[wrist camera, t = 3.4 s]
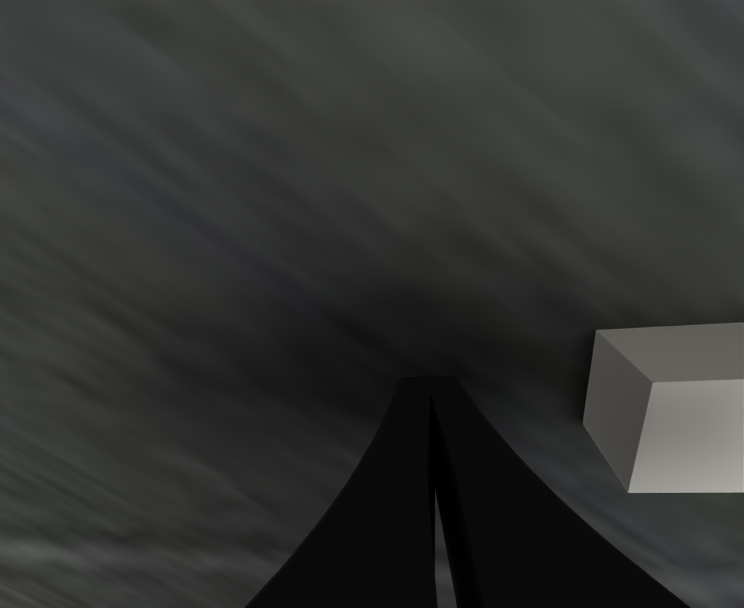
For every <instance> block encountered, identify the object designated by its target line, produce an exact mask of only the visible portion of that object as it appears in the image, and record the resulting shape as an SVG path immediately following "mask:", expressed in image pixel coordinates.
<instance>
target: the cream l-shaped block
mask: <svg viewBox="0 0 744 608" xmlns="http://www.w3.org/2000/svg"><path fill="white" fill-rule="evenodd" d="M583 425H584V427H585V428H586V430H587V431H588V433H589V434H590V436H591V438H592V439H593V441H594V442H595V444H596V445H597V447H598V448H599V450H600V451H601V453H602V454H603V456H604V457H605V459H606V460H607V462H608V463H609V465H610V466H611V468H612V469H613V471H614V472H615V474H616V475H617V477H618V478H619V480H620V482H621V483H622V485H623V486H624V488H625V489H626V491H627V492H628V493H701V492H744V322H740V323H721V324H702V325H682V326H663V327H644V328H625V329H606V330H596V334H595V341H594V348H593V355H592V362H591V369H590V375H589V382H588V389H587V396H586V403H585V410H584V417H583Z"/></svg>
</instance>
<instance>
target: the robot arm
mask: <svg viewBox="0 0 744 608" xmlns="http://www.w3.org/2000/svg"><path fill="white" fill-rule="evenodd" d="M435 490H436V495H437V501H438V506H439V512H440V517H441V522H442V528H443V533H444V538H445V544H446V549H447V554H448V560H449V565H450V570H451V576H452V581H453V586H454V592H455V597H456V604H457V608H690V607H689V606H688V605H687V604H685V603H684V602H683V601H681V600H680V599H679V598H678V597H676V596H675V595H674V594H673V593H671V592H670V591H669V590H668V589H666V588H665V587H664V586H663V585H661V584H660V583H659V582H658V581H656V580H655V579H654V578H653V577H651V576H650V575H649V574H648V573H646V572H645V571H644V570H643V569H641V568H640V567H639V566H638V565H636V564H635V563H634V562H633V561H631V560H630V559H629V558H628V557H626V556H625V555H624V554H622V553H621V552H620V551H619V550H617V549H616V548H615V547H614V546H613V545H612V544H610V543H609V542H608V541H607V540H606V539H605V538H604V537H602V536H601V535H600V534H599V533H598V532H597V531H596V530H594V529H593V528H592V527H591V526H590V525H589V524H588V523H586V522H585V521H584V520H583V519H582V518H581V517H580V516H579V515H577V514H576V513H575V512H574V511H573V510H572V509H571V508H570V507H569V506H568V505H567V504H566V503H565V502H563V501H562V500H561V499H560V498H559V497H558V496H557V495H556V494H555V493H554V492H553V491H552V490H551V489H550V488H549V487H548V486H547V485H546V484H545V483H544V482H543V481H542V480H541V479H540V478H539V477H538V476H537V475H536V474H535V473H534V472H533V471H532V470H531V469H530V468H529V467H528V466H527V465H526V464H525V462H524V461H523V460H522V459H521V458H520V457H519V456H518V455H517V454H516V453H515V452H514V451H513V449H512V448H511V447H510V446H509V445H508V444H507V443H506V442H505V440H504V439H503V438H502V437H501V436H500V434H499V433H498V432H497V431H496V430H495V428H494V427H493V426H492V425H491V424H490V422H489V421H488V420H487V419H486V417H485V416H484V415H483V414H482V412H481V411H480V410H479V408H478V407H477V406H476V404H475V403H474V402H473V400H472V399H471V397H470V396H469V395H468V393H467V392H466V390H465V389H464V387H463V385H462V384H461V382H460V380H459V379H458V378H457V377H455V376H430V377H407V378H401V379H400V380H399V381H398V382H397V386H396V390H395V393H394V396H393V398H392V401H391V403H390V406H389V408H388V410H387V412H386V415H385V417H384V419H383V421H382V423H381V425H380V427H379V429H378V431H377V433H376V435H375V437H374V439H373V441H372V442H371V444H370V446H369V448H368V449H367V451H366V453H365V454H364V456H363V458H362V459H361V461H360V463H359V464H358V466H357V468H356V469H355V471H354V473H353V474H352V476H351V477H350V479H349V480H348V482H347V483H346V485H345V486H344V488H343V489H342V491H341V492H340V494H339V495H338V497H337V498H336V499H335V501H334V502H333V503H332V505H331V506H330V508H329V509H328V510H327V512H326V513H325V514H324V516H323V517H322V518H321V520H320V521H319V522H318V523H317V525H316V526H315V527H314V528H313V530H312V531H311V532H310V534H309V535H308V536H307V537H306V539H305V540H304V541H303V542H302V544H301V545H300V546H299V547H298V549H297V550H296V551H295V552H294V553H293V555H292V556H291V557H290V558H289V559H288V560H287V562H286V563H285V564H284V565H283V566H282V567H281V569H280V570H279V571H278V572H277V573H276V574H275V575H274V576H273V577H272V579H271V580H270V581H269V582H268V583H267V584H266V585H265V586H264V587H263V588H262V589H261V590H260V592H259V593H258V594H257V595H256V596H255V597H254V598H253V599H252V600H251V601H250V602H249V603H248V604H247V606H246V607H245V608H437V596H436V584H435Z"/></svg>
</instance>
